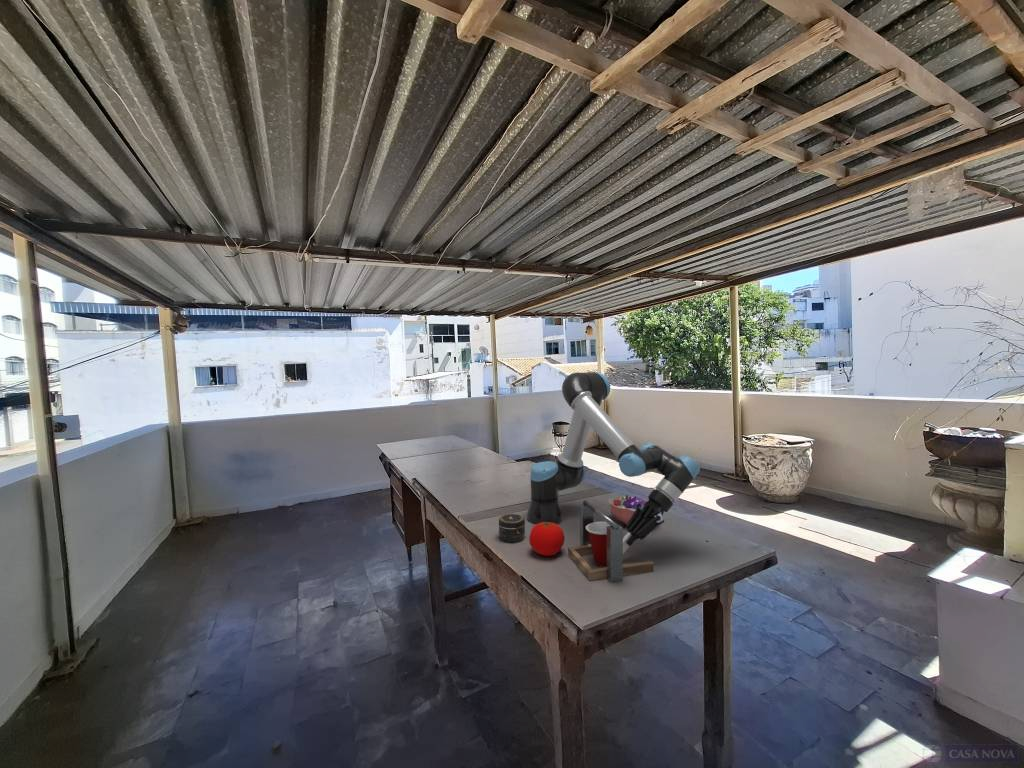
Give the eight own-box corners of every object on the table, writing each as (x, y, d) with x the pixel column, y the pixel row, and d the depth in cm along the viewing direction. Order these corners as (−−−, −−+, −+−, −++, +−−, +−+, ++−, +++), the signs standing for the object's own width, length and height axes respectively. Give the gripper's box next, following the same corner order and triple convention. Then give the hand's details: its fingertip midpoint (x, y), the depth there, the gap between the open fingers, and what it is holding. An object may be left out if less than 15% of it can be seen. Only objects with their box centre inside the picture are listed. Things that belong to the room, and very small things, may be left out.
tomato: (523, 553, 134) (523, 523, 134) (545, 542, 143) (544, 513, 143) (549, 564, 126) (549, 532, 126) (570, 551, 135) (570, 521, 135)
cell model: (626, 511, 173) (626, 486, 172) (665, 526, 156) (665, 498, 156) (599, 520, 164) (599, 493, 163) (638, 536, 147) (637, 506, 146)
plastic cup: (596, 551, 135) (596, 517, 135) (625, 561, 128) (625, 525, 127) (579, 563, 127) (579, 526, 126) (609, 574, 120) (609, 535, 119)
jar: (507, 545, 140) (507, 525, 140) (494, 536, 149) (493, 516, 148) (530, 539, 145) (530, 519, 145) (515, 530, 154) (515, 511, 154)
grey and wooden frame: (565, 551, 135) (564, 502, 135) (621, 544, 140) (621, 496, 140) (593, 585, 113) (592, 527, 113) (658, 575, 118) (658, 519, 118)
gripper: (683, 509, 125) (637, 567, 122) (659, 497, 138) (617, 548, 134) (669, 494, 124) (621, 552, 120) (646, 483, 136) (602, 535, 133)
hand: (619, 550), depth 127 cm, fingers closed
